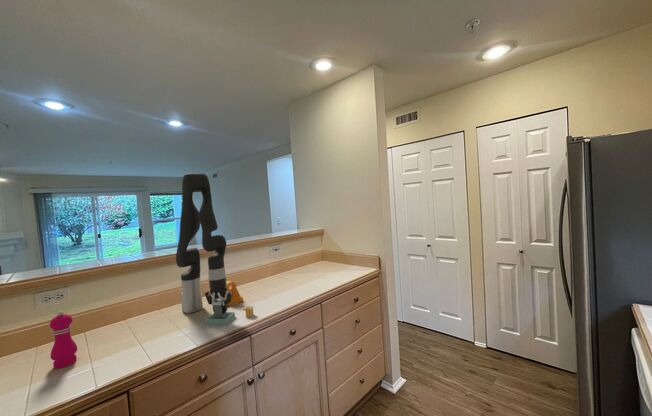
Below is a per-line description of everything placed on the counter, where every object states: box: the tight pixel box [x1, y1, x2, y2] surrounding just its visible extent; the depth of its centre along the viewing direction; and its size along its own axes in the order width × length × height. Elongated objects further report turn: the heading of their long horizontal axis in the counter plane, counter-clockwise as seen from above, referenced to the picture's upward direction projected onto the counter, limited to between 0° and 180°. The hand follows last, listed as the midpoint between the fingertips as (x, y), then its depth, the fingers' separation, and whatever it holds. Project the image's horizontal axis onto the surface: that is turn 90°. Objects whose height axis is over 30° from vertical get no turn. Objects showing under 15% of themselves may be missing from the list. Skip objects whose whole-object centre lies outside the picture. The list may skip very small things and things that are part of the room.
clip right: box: [243, 306, 254, 318], centre depth 133 cm, size 4×3×4 cm
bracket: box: [225, 280, 244, 307], centre depth 152 cm, size 11×7×12 cm, turn 129°
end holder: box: [205, 311, 236, 326], centre depth 129 cm, size 10×8×2 cm
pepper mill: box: [49, 310, 78, 369], centre depth 100 cm, size 7×7×20 cm
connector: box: [212, 299, 224, 315], centre depth 129 cm, size 4×4×6 cm
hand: (220, 312), depth 129 cm, fingers closed on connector, 4 cm apart
